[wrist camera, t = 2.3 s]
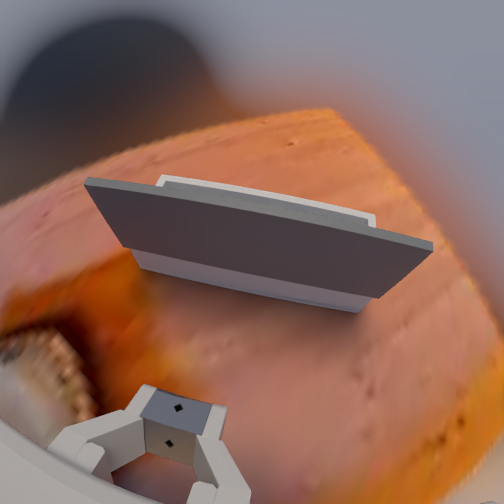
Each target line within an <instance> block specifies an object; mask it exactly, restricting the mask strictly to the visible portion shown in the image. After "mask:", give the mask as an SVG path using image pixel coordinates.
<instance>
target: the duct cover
mask: <svg viewBox="0 0 504 504" xmlns="http://www.w3.org/2000/svg"><path fill="white" fill-rule="evenodd" d="M84 186H85V188H86V189H87V191H88V193H89V194H90V196H91V198H92V199H93V201H94V203H95V204H96V206H97V207H98V209H99V211H100V212H101V214H102V215H103V217H104V218H105V220H106V222H107V223H108V225H109V226H110V228H111V229H112V231H113V232H114V234H115V235H116V237H117V238H118V240H119V241H120V243H121V244H122V246H123V247H126V248H130V249H135V250H139V251H144V252H148V253H153V254H157V255H162V256H166V257H171V258H176V259H180V260H185V261H189V262H194V263H199V264H204V265H208V266H213V267H218V268H223V269H227V270H232V271H237V272H242V273H247V274H252V275H257V276H262V277H267V278H272V279H277V280H282V281H287V282H292V283H297V284H302V285H307V286H313V287H318V288H323V289H328V290H334V291H339V292H345V293H350V294H355V295H361V296H366V297H372V298H378V299H379V298H380V297H381V296H383V295H384V294H385V293H386V292H387V291H389V290H390V289H391V288H392V287H394V286H395V285H396V284H397V283H398V282H399V281H401V280H402V279H403V278H404V277H405V276H406V275H408V274H409V273H410V272H411V271H412V270H413V269H414V268H416V267H417V266H418V265H419V264H420V263H421V262H422V261H423V260H425V259H426V258H427V257H428V256H429V255H430V254H431V253H432V252H433V242H430V241H426V240H422V239H418V238H415V237H411V236H407V235H403V234H399V233H395V232H391V231H387V230H382V229H378V228H374V227H370V226H366V225H361V224H357V223H353V222H348V221H344V220H339V219H335V218H330V217H326V216H321V215H316V214H312V213H307V212H302V211H297V210H292V209H287V208H282V207H277V206H272V205H267V204H261V203H256V202H251V201H245V200H240V199H234V198H229V197H223V196H217V195H211V194H205V193H199V192H193V191H187V190H180V189H174V188H167V187H160V186H154V185H147V184H139V183H132V182H124V181H117V180H109V179H101V178H92V177H88V178H87V179H86V181H85V183H84Z"/></svg>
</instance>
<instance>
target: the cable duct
mask: <svg viewBox="0 0 504 504" xmlns="http://www.w3.org/2000/svg"><path fill="white" fill-rule="evenodd" d="M156 186H160V187H167V188H174V189H180V190H187V191H193V192H199V193H205V194H211V195H217V196H223V197H229V198H234V199H240V200H245V201H251V202H256V203H261V204H267V205H272V206H277V207H282V208H287V209H292V210H297V211H302V212H307V213H312V214H316V215H321V216H326V217H330V218H335V219H339V220H344V221H348V222H353V223H357V224H361V225H366V226H370V227H374V228H376V221H375V215H374V214H370V213H366V212H362V211H357V210H353V209H349V208H345V207H340V206H336V205H331V204H327V203H322V202H318V201H313V200H308V199H303V198H298V197H294V196H289V195H284V194H278V193H273V192H268V191H263V190H257V189H252V188H246V187H240V186H235V185H229V184H223V183H217V182H210V181H204V180H198V179H191V178H184V177H177V176H170V175H163V174H162V175H161V177H160V178H159V180H158V182H157V184H156ZM130 250H131V252H132V254H133V256H134V258H135V259H136V261H137V263H138V265H139V267H140V268H141V269H145V270H149V271H153V272H157V273H162V274H166V275H170V276H174V277H179V278H183V279H187V280H192V281H196V282H201V283H205V284H210V285H214V286H219V287H224V288H228V289H233V290H238V291H243V292H248V293H252V294H257V295H262V296H267V297H272V298H277V299H283V300H288V301H293V302H298V303H304V304H309V305H314V306H320V307H325V308H331V309H337V310H342V311H348V312H354V313H359V312H360V311H361V310H362V309H363V308H364V307H365V306H366V305H367V304H368V303H369V302H370V301H371V300H372V297H366V296H361V295H355V294H350V293H345V292H339V291H334V290H328V289H323V288H318V287H313V286H307V285H302V284H297V283H292V282H287V281H282V280H277V279H272V278H267V277H262V276H257V275H252V274H247V273H242V272H237V271H232V270H227V269H223V268H218V267H213V266H208V265H204V264H199V263H194V262H189V261H185V260H180V259H176V258H171V257H166V256H162V255H157V254H153V253H148V252H144V251H139V250H135V249H130Z"/></svg>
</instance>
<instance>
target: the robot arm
mask: <svg viewBox="0 0 504 504" xmlns="http://www.w3.org/2000/svg"><path fill="white" fill-rule="evenodd" d="M227 410H228V407H225V406H221V405H216V404H211V403H207V402H203V401H199V400H195V399H191V398H188V397H184V396H180V395H177V394H174V393H171V392H168V391H165V390H162V389H159V388H155V387H152V386H150V385H147V384H144V385H142V386H141V388H140V389H139V390H138V392H137V393H136V395H135V396H134V398H133V399H132V400H131V402H130V403H129V405H128V406H127V407H126V409H125V410H124V411H123V410H118V411H115V412H112V413H109V414H106V415H103V416H100V417H97V418H94V419H91V420H88V421H84V422H81V423H78V424H75V425H71V426H68V427H65V428H64V429H63V430H62V431H61V432H60V433H59V435H58V436H57V437H56V438H55V439H54V440H53V442H52V443H51V444H50V445H49V446H48V447H47V449H45V448H43V447H42V446H40V445H39V444H37V443H35V442H34V441H32V440H31V439H29V438H28V437H26V436H25V435H24V434H22V433H21V432H19V431H18V430H17V429H15V428H14V427H12V426H11V425H10V424H8V423H7V422H6V421H4V420H3V419H2V418H1V417H0V504H164V503H161V502H158V501H155V500H152V499H149V498H147V497H144V496H141V495H138V494H136V493H133V492H131V491H128V490H126V489H123V488H121V487H118V486H116V485H114V483H113V480H112V476H111V473H110V472H112V471H114V470H116V469H117V468H119V467H121V466H123V465H125V464H127V463H128V462H130V461H132V460H134V459H136V458H137V457H139V456H141V455H143V454H144V453H146V452H149V453H152V454H155V455H158V456H162V457H165V458H168V459H171V460H174V461H177V462H181V463H184V464H187V465H190V466H193V469H194V471H195V474H196V477H197V480H198V482H195V483H193V486H192V489H191V492H190V495H189V497H188V500H187V503H186V504H249V503H250V497H251V490H250V488H249V486H248V485H247V483H246V481H245V480H244V478H243V476H242V475H241V473H240V471H239V469H238V467H237V466H236V464H235V462H234V460H233V459H232V457H231V455H230V453H229V451H228V449H227V447H226V446H225V444H224V442H223V441H221V439H222V435H223V430H224V425H225V420H226V415H227ZM145 451H146V452H145ZM481 504H497V503H495V502H492V501H490V502H485V503H481Z"/></svg>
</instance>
